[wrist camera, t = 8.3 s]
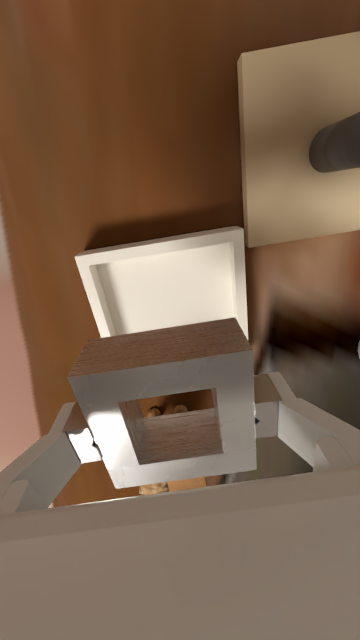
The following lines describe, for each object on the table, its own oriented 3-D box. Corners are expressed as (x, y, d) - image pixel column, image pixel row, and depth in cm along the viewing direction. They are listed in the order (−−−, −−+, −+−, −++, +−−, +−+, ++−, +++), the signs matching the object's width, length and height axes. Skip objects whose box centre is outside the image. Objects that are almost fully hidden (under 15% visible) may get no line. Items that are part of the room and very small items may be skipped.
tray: (243, 354, 23) (249, 368, 21) (121, 373, 23) (117, 388, 21) (235, 225, 18) (243, 228, 16) (83, 250, 18) (74, 256, 16)
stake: (384, 222, 18) (455, 230, 14) (244, 245, 19) (269, 260, 14) (420, 28, 14) (541, -53, 9) (237, 62, 14) (268, -1, 10)
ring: (235, 317, 10) (253, 350, 8) (242, 439, 13) (256, 485, 11) (88, 339, 10) (67, 377, 8) (129, 454, 14) (122, 504, 11)
